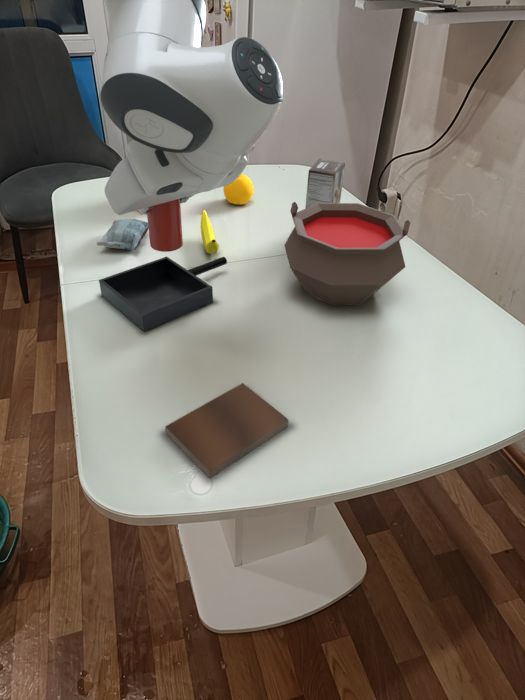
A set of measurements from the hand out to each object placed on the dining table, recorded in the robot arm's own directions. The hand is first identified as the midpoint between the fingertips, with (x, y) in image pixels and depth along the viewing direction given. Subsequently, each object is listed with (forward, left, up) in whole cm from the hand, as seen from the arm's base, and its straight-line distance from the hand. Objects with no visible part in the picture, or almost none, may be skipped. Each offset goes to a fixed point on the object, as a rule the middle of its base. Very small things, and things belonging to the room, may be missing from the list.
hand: (160, 203), depth 76 cm
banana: (+25, +21, -23) cm, 40 cm away
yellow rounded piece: (+47, +37, -23) cm, 64 cm away
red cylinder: (0, -1, -6) cm, 6 cm away
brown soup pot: (+35, -9, -23) cm, 43 cm away
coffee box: (+51, +11, -23) cm, 57 cm away
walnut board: (-7, -25, -23) cm, 35 cm away
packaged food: (+11, +34, -23) cm, 43 cm away
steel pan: (+8, +10, -23) cm, 27 cm away
